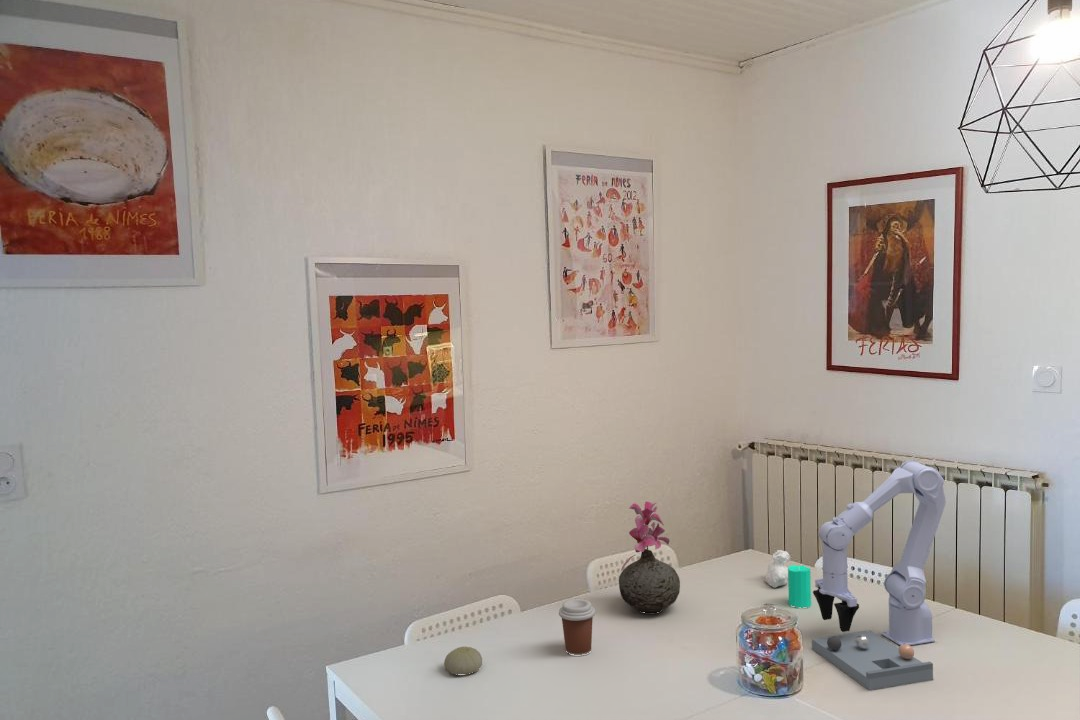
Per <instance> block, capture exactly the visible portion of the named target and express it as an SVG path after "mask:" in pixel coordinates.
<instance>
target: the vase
mask: <svg viewBox="0 0 1080 720" xmlns="http://www.w3.org/2000/svg"><path fill="white" fill-rule="evenodd" d="M656 504H657V502H654V503H653V502H649V501H645V503H644V509H643V510H642V508H641V507H640V506H639V504H638V503H632V504H631V505H630V506H629V508H628V509H631V510H634V512H635V514H636V515H637V516H636V517H635V519H634V523H635V526H636V527H633V528H632V529H631V530H630V531H628V533H629V535H630V536H631V537H632V538H633V539H634V540H636V543H635V544H634V549H635V551H634V552H635V553H640V557H639V558H638V559H637V560H636V561H633V562H632V563H630V564H628V565H627V563H628V562H629V561H630V560H631V559H632V558H633V557H634V556H636V554H633V555H632V556H630V557H629V558H627V560H626V561H625V562H624V563H623V565H622V567H621V569H620V575H619V577H618V586H619V593H620V597H621V598H622V601H624V602H625V603H626V604H627V605H629V606H630V607H632V608H634V609H636V610H639V611H641V612H645V613H657V612H660V611H661V610H662V611H663V610H666V609H667V608H668V607H671V605H673V604H674V603H675V602H676V601H677V599H678V597H679V594H680V591H681V590H680V589H681V580H680V577H679V574H678V573H677V571H676V570H675V568H673V567H672V566H671V565H670V564H668V563H666V562H663V561H661V560H659V559H657V558H656V557H655V555H654V553H653V551H652V550H650V549H649V547H653V546H655V550H657V549H660V548H661V546H662V544H661V542H660V541H662V542H664V543H665V544H667V546H668V545H669V544H670V538H669V537H666V536H661V535H662V534H663V533H664V532H666V531H665V529H664V528H663V527H661V526H660V524H661V525H662V526H665V525H664V522H663V520H662V519H661V517H660V516H659V515H658V514H657V513H656V512H657V510H658V506H655V505H656ZM652 521H657V522H658V523H657V524H656V522H652ZM650 522H652V523H651V524H650ZM649 525H650V526H651V527H649ZM626 565H627V566H626ZM625 566H626V567H625ZM639 611H638V612H639ZM662 611H661V612H662ZM641 612H640V613H641ZM661 612H660V613H661ZM645 613H644V614H645ZM657 614H658V613H657Z"/></svg>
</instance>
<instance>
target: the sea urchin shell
mask: <svg viewBox="0 0 1080 720" xmlns="http://www.w3.org/2000/svg"><path fill="white" fill-rule="evenodd" d="M443 663H444V667H445V669H446V671H447V672H448V673H450V674H451V673H452V675H453V674H457V675H458V674H469V673H472V672H475V673H477V672H478V671H479V670H480V669H481V668H482V666H483V665H482V664H483V658H482V655H481V653H480V651H479V650H477V648H474V647H471V646H460V647H457V648H455V649H453V650H451V651H450V652H448V654H446V655H445V659H444V661H443ZM479 668H480V669H479ZM477 670H478V671H477ZM476 671H477V672H476Z"/></svg>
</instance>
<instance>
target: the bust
mask: <svg viewBox="0 0 1080 720" xmlns="http://www.w3.org/2000/svg"><path fill="white" fill-rule="evenodd" d="M772 558H773V559H772V561H771V562H770V563H769V564H768V567H767V572H766V574H765V578H764V579H765V582H766V583H767V585H768V586H769V585H770V586H769V587H772V588H775V589H777V587H780V586H785V585H787V583H788V567H787V566H786V563H787V562H790V561H791V555H790V554H789V553H788V551H786V550H782V549H778V550H776V551H775V552H774V553H773V554H772Z"/></svg>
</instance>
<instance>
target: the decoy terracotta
mask: <svg viewBox="0 0 1080 720" xmlns="http://www.w3.org/2000/svg"><path fill="white" fill-rule="evenodd" d="M898 648H899V654H900V656H901V657H902V658H904V659H911V658H912V657H915V656H914V655H915V650H914V648H913V647H912V645H907V644H904V645H901V646H900V645H899V647H898Z"/></svg>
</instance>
